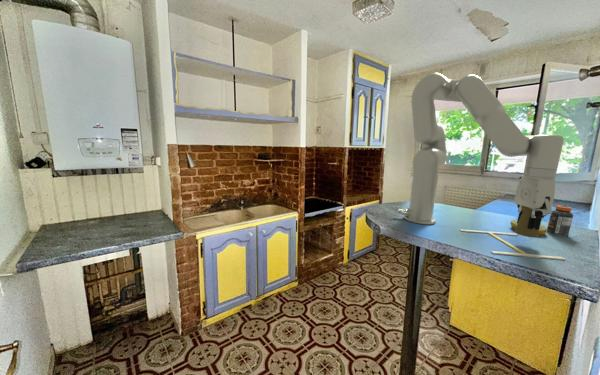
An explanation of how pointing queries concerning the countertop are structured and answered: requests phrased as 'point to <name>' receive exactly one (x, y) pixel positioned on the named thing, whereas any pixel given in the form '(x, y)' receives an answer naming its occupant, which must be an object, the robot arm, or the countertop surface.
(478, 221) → the countertop surface
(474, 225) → the countertop surface
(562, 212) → the pill bottle
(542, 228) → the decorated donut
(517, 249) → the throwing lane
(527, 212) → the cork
